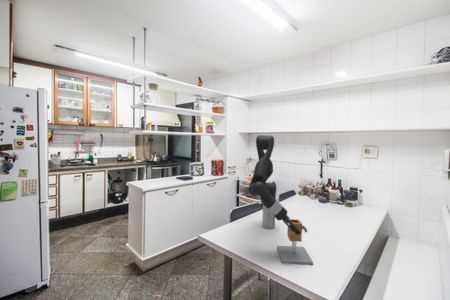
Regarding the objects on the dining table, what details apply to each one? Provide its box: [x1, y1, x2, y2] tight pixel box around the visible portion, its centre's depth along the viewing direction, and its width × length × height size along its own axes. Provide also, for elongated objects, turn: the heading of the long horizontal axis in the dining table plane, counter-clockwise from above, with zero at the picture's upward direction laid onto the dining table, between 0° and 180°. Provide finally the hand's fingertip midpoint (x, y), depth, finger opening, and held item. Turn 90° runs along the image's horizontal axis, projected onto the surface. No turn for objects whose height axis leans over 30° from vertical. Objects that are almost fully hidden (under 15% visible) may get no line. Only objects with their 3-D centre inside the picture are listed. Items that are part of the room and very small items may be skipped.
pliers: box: [302, 225, 308, 233], centre depth 162 cm, size 11×20×3 cm, turn 172°
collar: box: [287, 218, 303, 243], centre depth 120 cm, size 6×6×10 cm
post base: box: [276, 241, 314, 266], centre depth 120 cm, size 16×16×8 cm
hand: (297, 231), depth 120 cm, fingers closed on collar, 6 cm apart
